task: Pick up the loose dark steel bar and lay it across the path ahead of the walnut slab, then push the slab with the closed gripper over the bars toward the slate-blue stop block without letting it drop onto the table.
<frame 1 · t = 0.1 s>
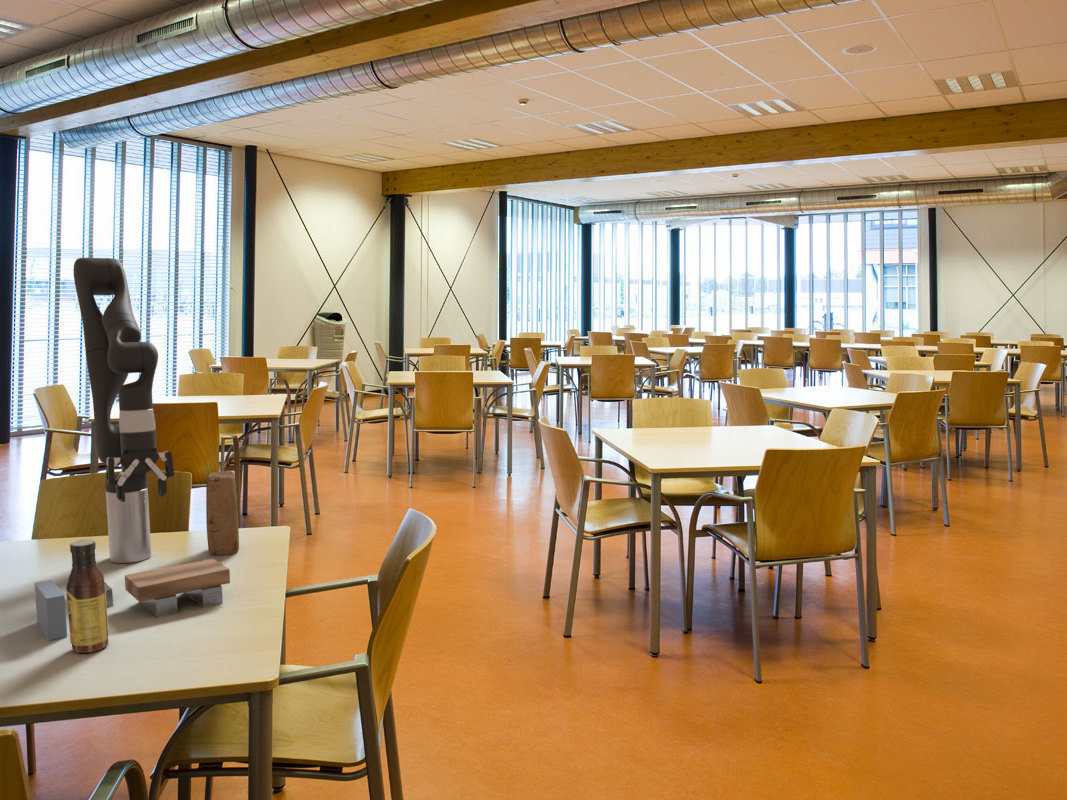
hand: (142, 498, 203), 17 cm above the table, tool pointing down, fingers open, 8 cm apart
block: (223, 551, 222), on the table
slab: (178, 586, 183), point 4 cm above the table, touching bar rear
sauce bottle: (90, 649, 159), on the table
bar rear: (203, 599, 186), on the table, touching slab
bar middle: (158, 609, 181), on the table
bar loose: (95, 601, 185), on the table
stop block: (51, 629, 168), on the table
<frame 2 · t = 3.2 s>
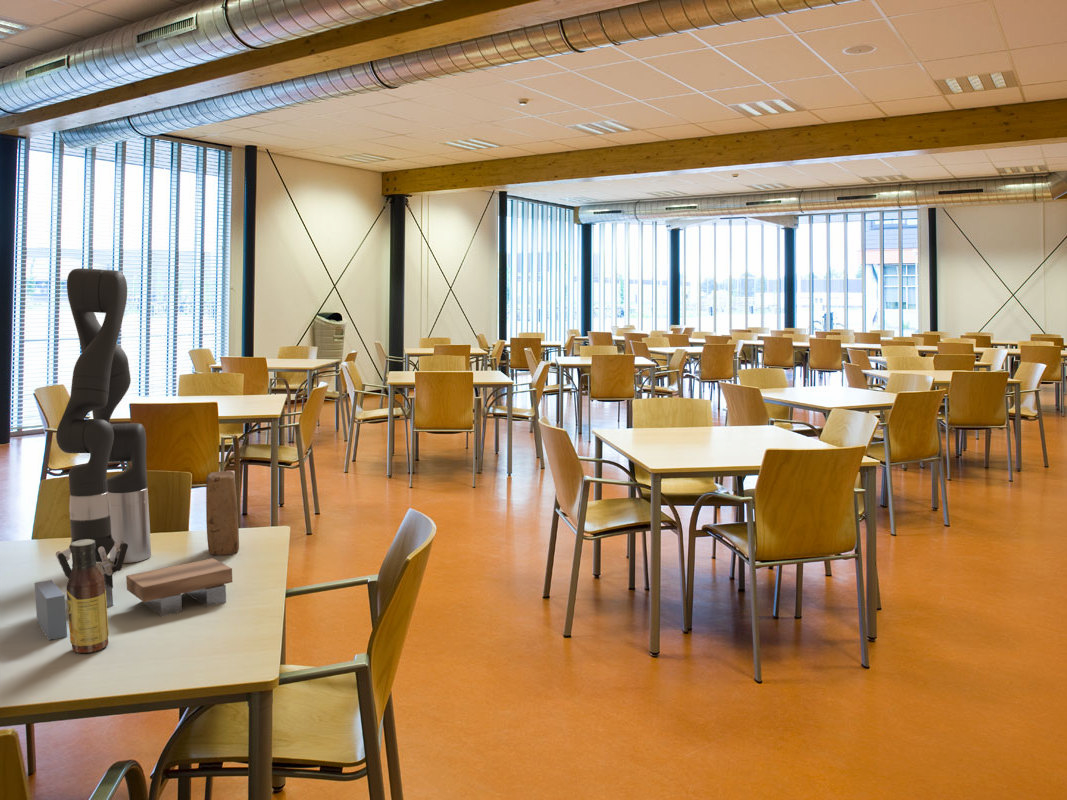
hand: (95, 594, 185), 1 cm above the table, tool pointing down, fingers closed on bar loose, 4 cm apart
slab: (180, 586, 183), point 4 cm above the table, touching bar middle, bar rear
bar middle: (161, 608, 181), on the table, touching slab
bar loose: (95, 600, 185), on the table, touching gripper
when the fingers open (2 cm above the table, at t = 8.2 s): bar loose drops 1 cm, on the table.
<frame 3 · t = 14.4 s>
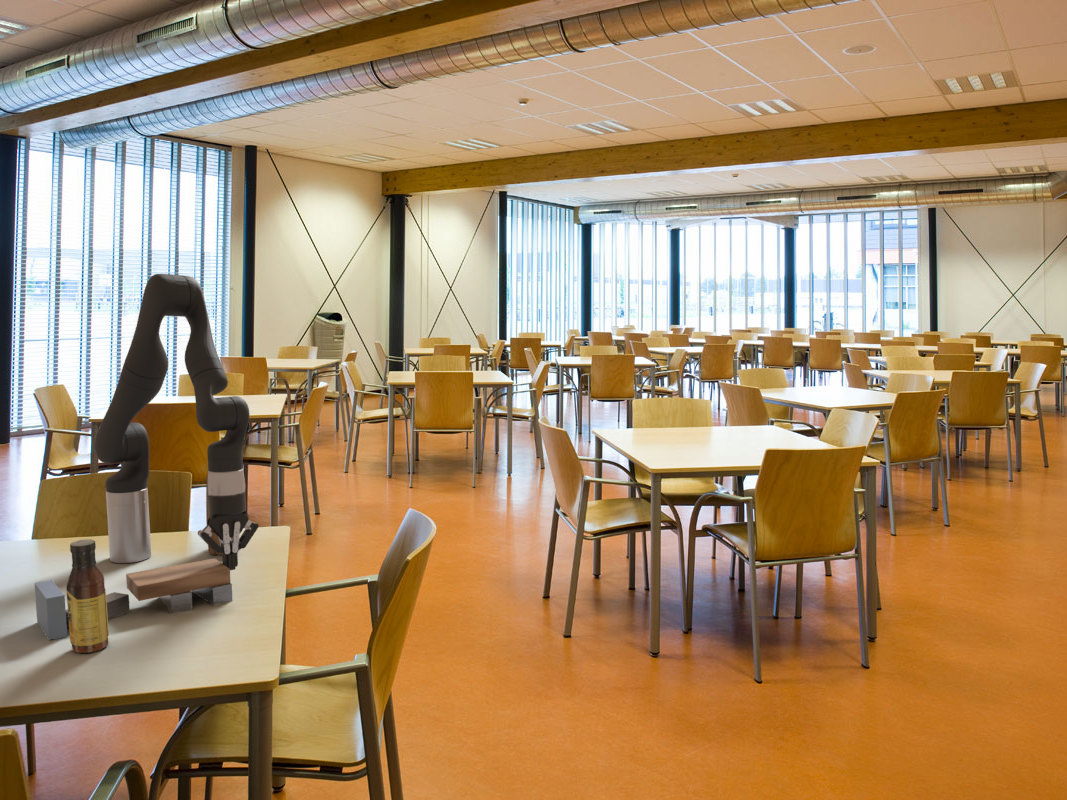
hand: (230, 569, 189), 5 cm above the table, tool pointing down, fingers closed
slab: (179, 585, 183), point 4 cm above the table
bar rear: (211, 597, 187), on the table
bar middle: (175, 605, 183), on the table
bar loose: (97, 621, 173), on the table
everything else where it was.
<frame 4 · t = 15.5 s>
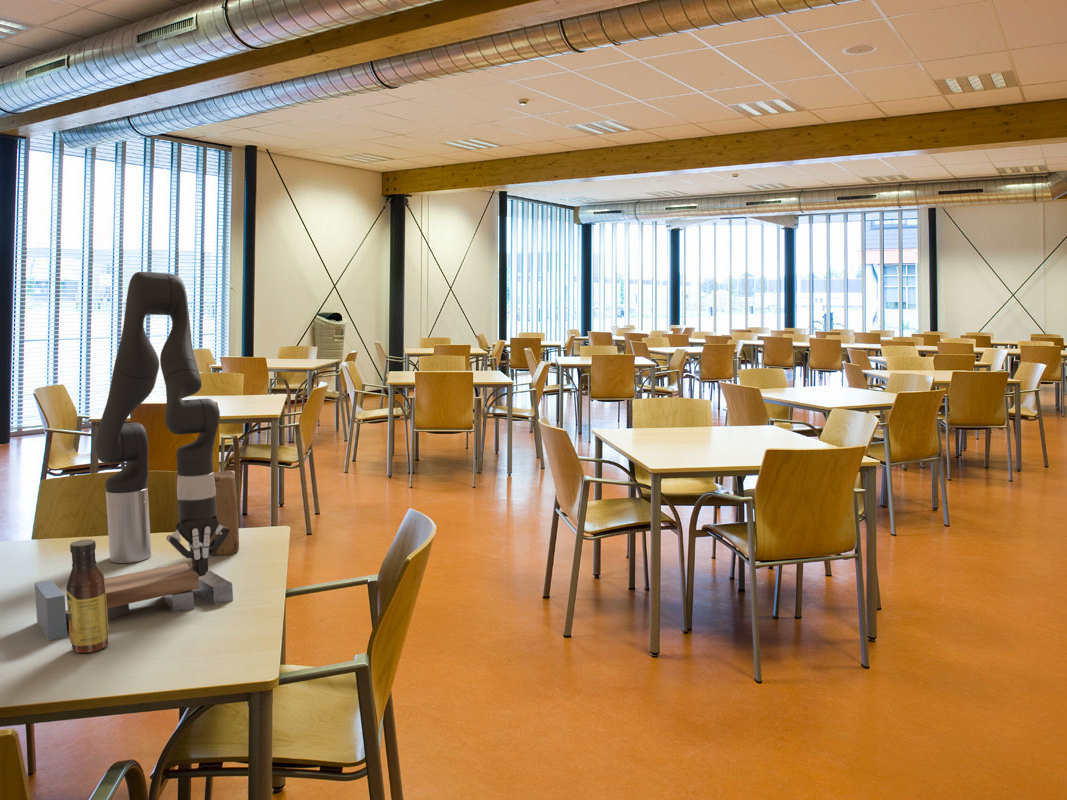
hand: (200, 575, 185), 5 cm above the table, tool pointing down, fingers closed
slab: (147, 591, 179), point 4 cm above the table, touching bar middle, gripper
bar middle: (178, 604, 183), on the table, touching slab
everything else where it was.
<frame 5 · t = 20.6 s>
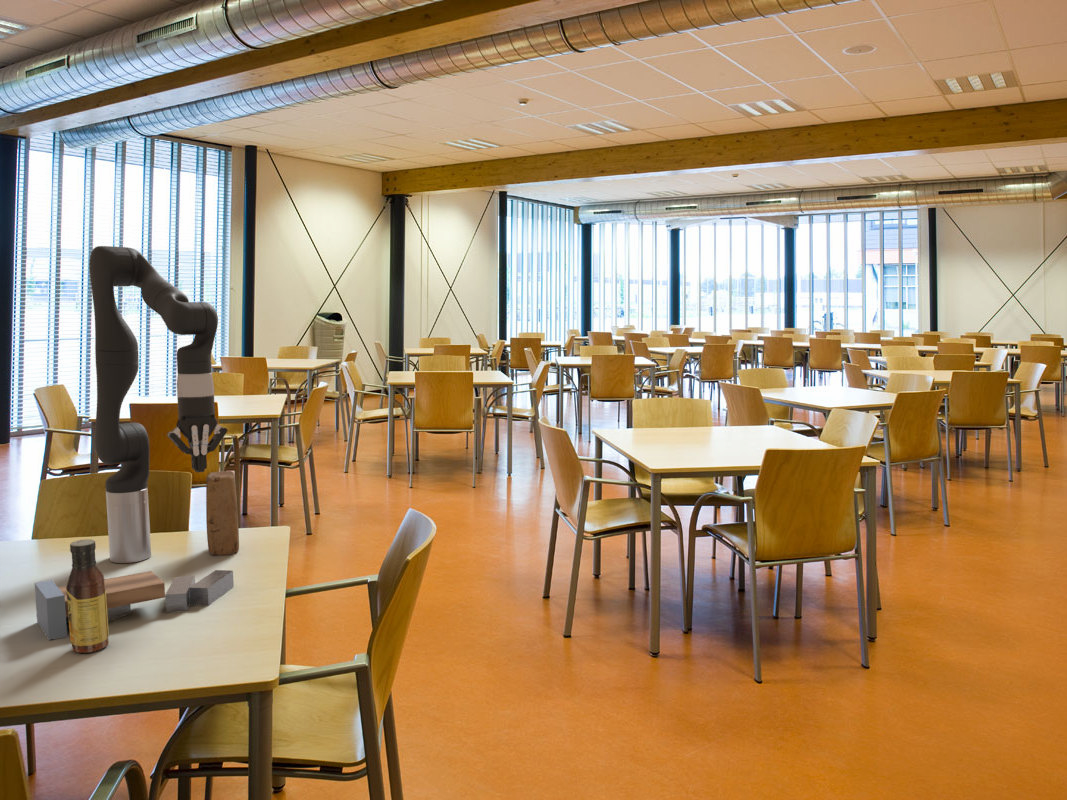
hand: (199, 471, 194), 25 cm above the table, tool pointing down, fingers closed
slab: (110, 600, 175), point 3 cm above the table, touching bar loose
bar middle: (181, 603, 184), on the table
bar loose: (97, 622, 173), on the table, touching slab
at the end: slab inside the target area (0.4 cm from its centre), point 3.4 cm above the table; slab touching nothing; slab tilted 0° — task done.
